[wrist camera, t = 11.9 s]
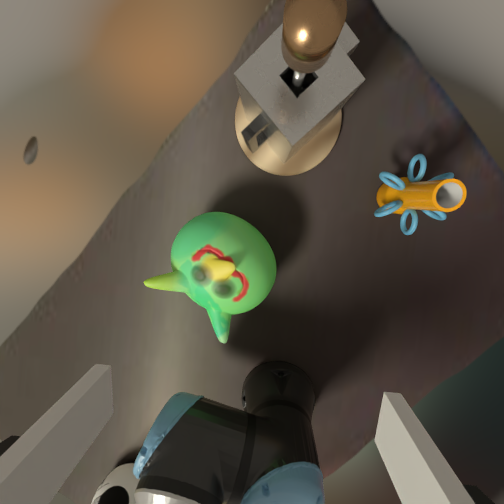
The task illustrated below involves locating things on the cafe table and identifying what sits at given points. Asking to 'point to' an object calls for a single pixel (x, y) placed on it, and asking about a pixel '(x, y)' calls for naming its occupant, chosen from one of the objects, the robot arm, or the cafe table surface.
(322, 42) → the plunger
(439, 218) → the cylinder
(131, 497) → the milk container
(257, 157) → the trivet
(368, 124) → the cafe table surface
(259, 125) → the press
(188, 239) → the toy bird
